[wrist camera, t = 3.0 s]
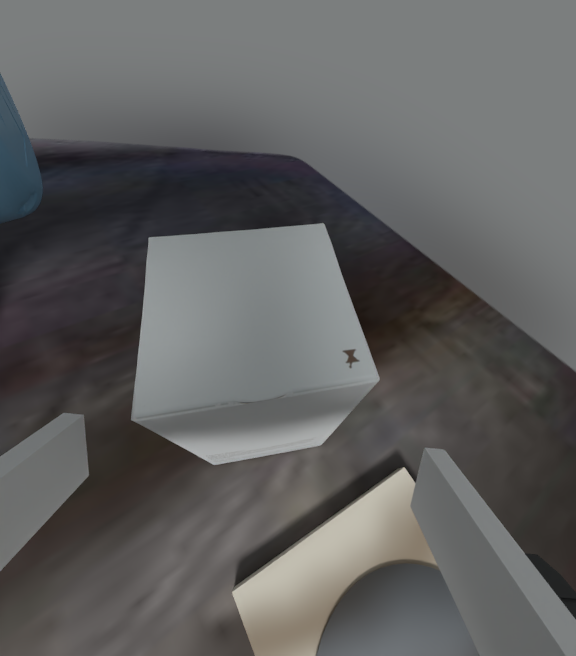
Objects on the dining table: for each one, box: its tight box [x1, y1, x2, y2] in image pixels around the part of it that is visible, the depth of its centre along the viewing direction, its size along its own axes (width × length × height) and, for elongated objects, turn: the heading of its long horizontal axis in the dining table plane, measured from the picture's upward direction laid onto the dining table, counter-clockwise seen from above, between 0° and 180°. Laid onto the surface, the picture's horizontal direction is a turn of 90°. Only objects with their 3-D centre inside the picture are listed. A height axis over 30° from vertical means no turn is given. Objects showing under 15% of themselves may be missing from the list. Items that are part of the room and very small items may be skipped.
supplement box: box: [131, 223, 380, 465], centre depth 18 cm, size 9×9×15 cm
